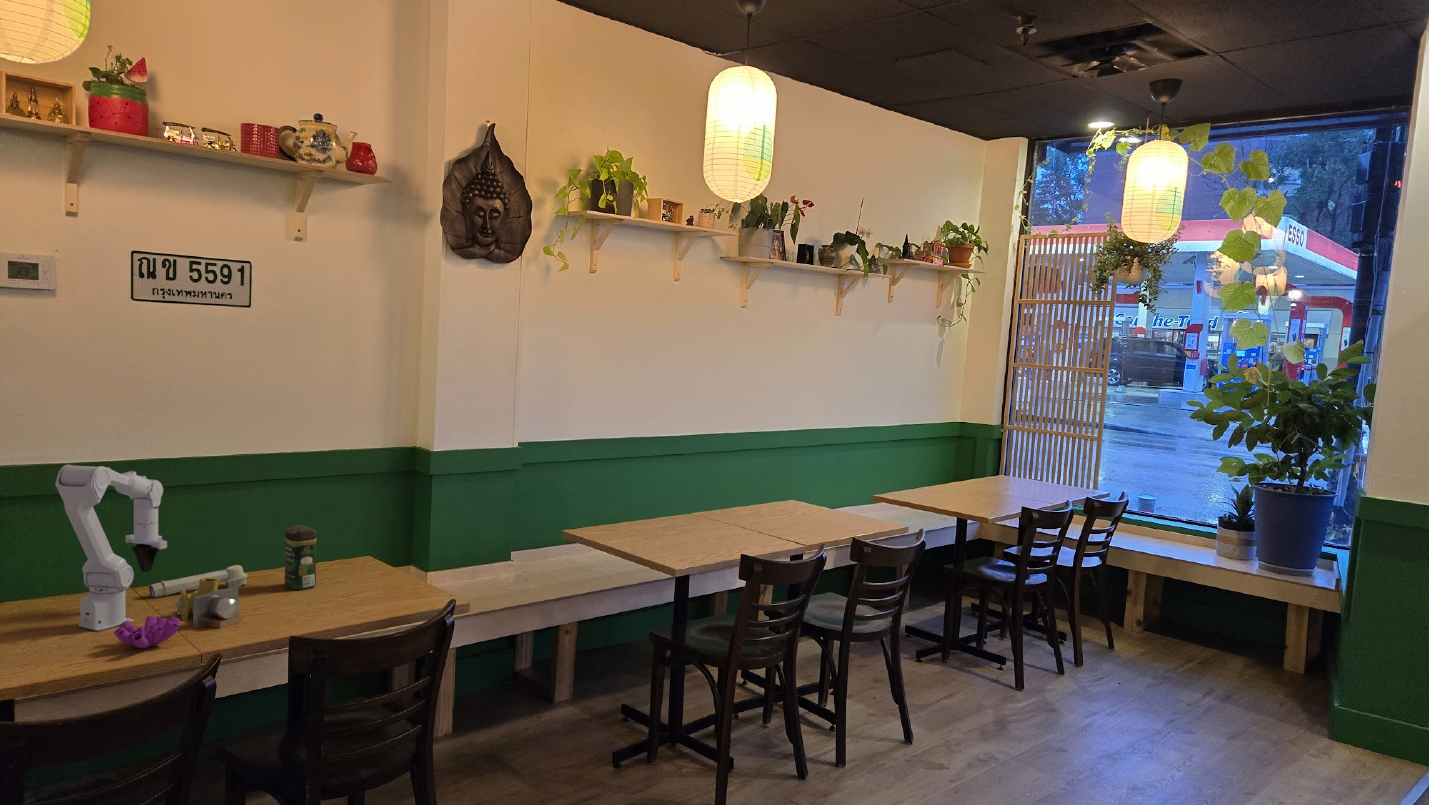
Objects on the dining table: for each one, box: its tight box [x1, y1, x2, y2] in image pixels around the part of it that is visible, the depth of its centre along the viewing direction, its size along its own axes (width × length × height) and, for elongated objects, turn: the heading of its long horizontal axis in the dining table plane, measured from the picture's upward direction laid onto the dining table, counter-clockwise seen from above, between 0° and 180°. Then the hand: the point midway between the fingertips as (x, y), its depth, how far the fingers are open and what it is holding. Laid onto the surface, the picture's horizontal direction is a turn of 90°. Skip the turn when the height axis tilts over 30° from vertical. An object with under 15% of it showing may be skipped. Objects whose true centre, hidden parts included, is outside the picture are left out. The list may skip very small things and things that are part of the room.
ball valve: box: [174, 577, 220, 621], centre depth 250 cm, size 13×10×10 cm
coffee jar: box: [284, 524, 318, 591], centre depth 280 cm, size 10×8×19 cm
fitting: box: [192, 586, 243, 629], centre depth 244 cm, size 12×7×8 cm, turn 156°
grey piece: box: [148, 564, 248, 599], centre depth 272 cm, size 5×7×25 cm
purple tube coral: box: [113, 615, 181, 649], centre depth 226 cm, size 11×15×10 cm
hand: (146, 571), depth 255 cm, fingers closed
